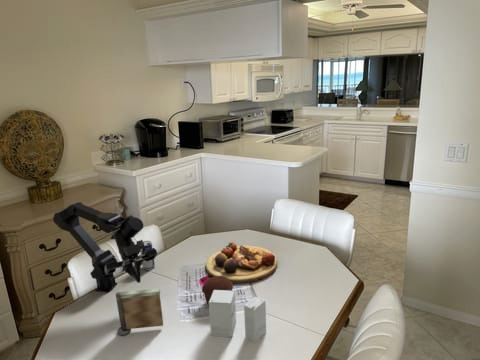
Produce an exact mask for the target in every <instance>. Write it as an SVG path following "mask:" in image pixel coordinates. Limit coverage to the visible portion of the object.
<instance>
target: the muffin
mask: <svg viewBox="0 0 480 360" xmlns="http://www.w3.org/2000/svg"><path fill="white" fill-rule="evenodd" d="M233 284H234V283H231V281H230V280H229V279H228V278H226V277H223V276H214V277H212V276H211V277H210V278H208V279H207V280H206V281H205V282H204V284H203V285H202V286H201V292H202V293H203V295H204V298H205V303H206V307H208V308H209V300H210V298H211V296H212V293H213V291H214V290H227V291H233V289H234V285H233Z"/></svg>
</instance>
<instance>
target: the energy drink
mask: <svg viewBox="0 0 480 360" xmlns="http://www.w3.org/2000/svg"><path fill="white" fill-rule="evenodd" d="M142 241H143V243H144V246H145V248H143V249H140V250H141V252H140V255H142V254H144V252H145V250H148V249H151V248H154V247H153V243H152V241H151V240H142ZM155 263H156V262H155V259H153V260H150V261H143V263H142V265H141V266H142V269H143V270H145V271H150V270H152V269H154V268H155V266H156V264H155Z"/></svg>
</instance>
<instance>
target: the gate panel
mask: <svg viewBox="0 0 480 360" xmlns="http://www.w3.org/2000/svg"><path fill="white" fill-rule="evenodd" d="M115 298H116V300H115V301H116V305H117V312H118V318H119V323H120V327H121V330H125V329H131V330H133V329H144V328H153V327H162V326H163V327H164V319H163V318H164V317H163V311H162V302H161V288H155V289H154V288H152V289H141V290H140V289H139V290H131V291H130V290H129V291H120V292H116V293H115Z"/></svg>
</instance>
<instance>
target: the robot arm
mask: <svg viewBox="0 0 480 360" xmlns="http://www.w3.org/2000/svg"><path fill="white" fill-rule="evenodd" d="M80 218H81V219H83V220H86V221H88V222H91V223H94V224H95V225H97V227H98V229H99V230H101V231H102V232H104V233H106V234H110V233H112V235H111V237H110V239H111V240H114V241H115V244H116V247H117V250H118V253H119V254H120V258H121V260H120V261H118V259H117V258H116V255H114V254H113V252H112V251H111V250H110V249H107V250H104V249H102V248H101V247H100V246H99V245H98V243H97V242H96V241H95V240H94V239H93V237H92V236H91V235H90V234H89V233H88V232H87V230H85V228H84V227H83V226H82V225H81V224H80ZM52 221H53V223H54V224H55V225H56V226H58V228H60V230H63V231H65V232H68V233H69V234H70V235H71V236H72V237H73V238H74V240H75V241H76V242H77V243H78V244H79V246H80V247H82V249H83V250H84V251H85V253H87V255H88V256H89V257H90V259H91V264H92V265H91V266H92V268H93V269H92V271H91V272H90V276H91V278H92V279H95V281H96V288H95V289H94V291H95V292H105V293H110V292H111V291H112V290H113V289H114V288H115V287H116V286H117V285H118V282H117V281H116V277H115V276H114V273H115V272H116V270H117V269H118V268H121V269H122V270H121V271H122V272H123V273H124V272H125V273H126V274H128V275H129V276H130V277H131V278H133V279H134V281H135V282H136V283H137V284H139V283H141V266H142V263H143V261H150V260H153V259H154V260H155V259H156V257H157V255H158V251H157V249H156V248H154V247H153V248H151V249H148V250H145V252H144V254H142V255H141V254H140V253H141V250H140V249H143V248H145V246H144V243H143V241H144V240H143V239H141V240H138V241H136V244H135V242H134V241H133V238H135V237H136V236H137V235H138V234H139V232H141V231H142V230H143V229H144V222H143V221H142V220H141V219H140V218H138V217H135V216H133V215H132V214H130V215H129V216H127V217H123V216H121V215H120V214H118V213H115V212H103V211H100V210H97V209H95V208H93V207H91V206H87V205H85V204H83V203H82V202H81V201H79V202H75V203H72V204H69V206H67V207H66V208H64V209H62V210H60V211H57V212H55V213H54V214H53V217H52Z"/></svg>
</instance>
